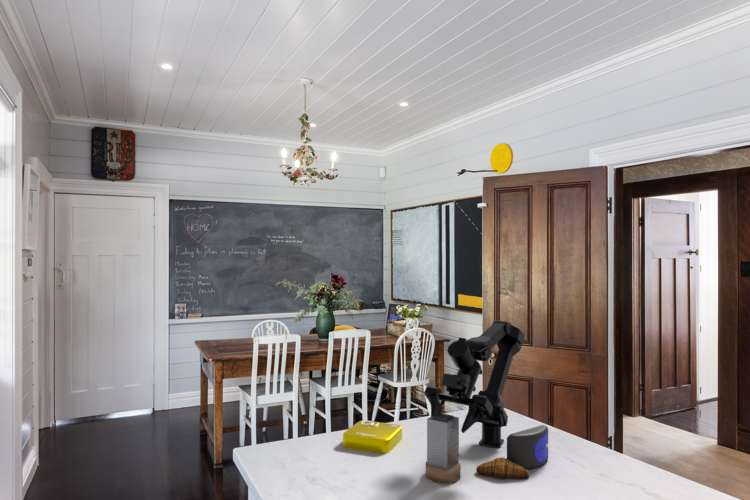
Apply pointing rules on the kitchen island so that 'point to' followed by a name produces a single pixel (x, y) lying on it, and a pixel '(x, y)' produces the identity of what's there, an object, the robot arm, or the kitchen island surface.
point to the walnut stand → (443, 474)
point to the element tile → (372, 436)
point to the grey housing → (443, 441)
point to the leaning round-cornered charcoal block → (528, 447)
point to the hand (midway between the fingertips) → (446, 428)
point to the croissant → (502, 469)
